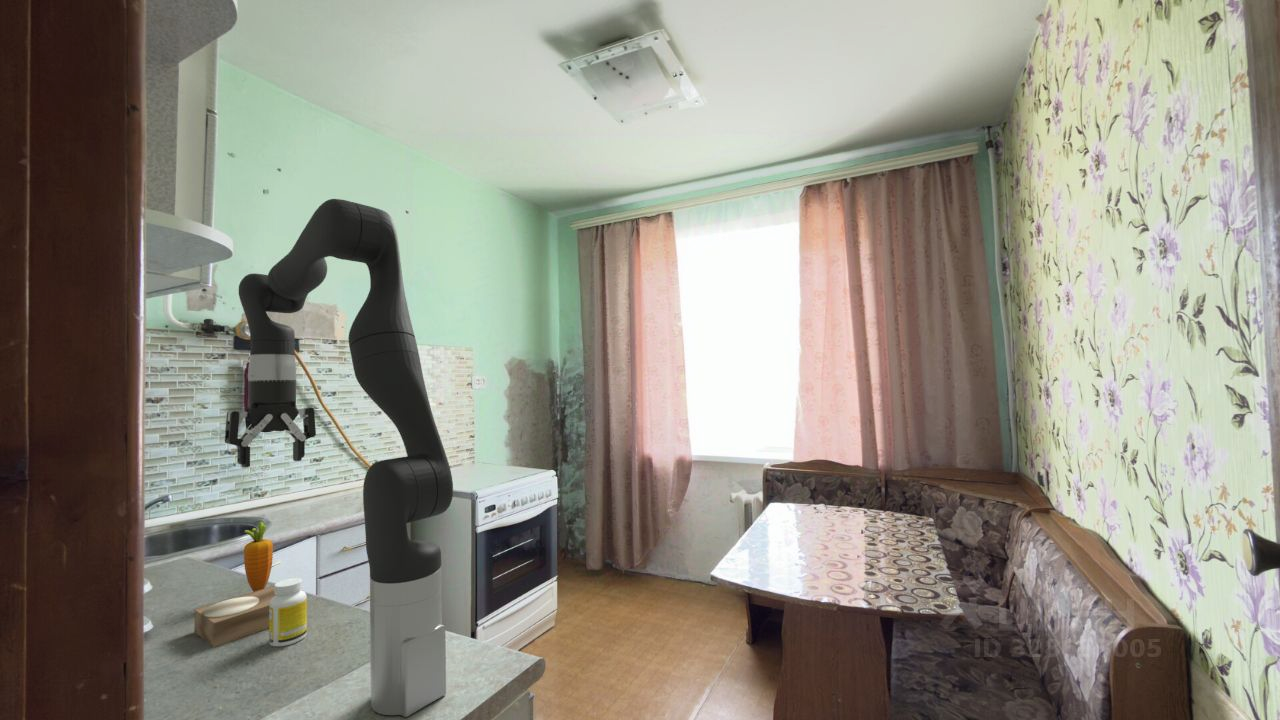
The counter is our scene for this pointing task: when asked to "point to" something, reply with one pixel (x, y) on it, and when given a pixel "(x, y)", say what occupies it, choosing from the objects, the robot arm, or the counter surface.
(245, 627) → the walnut board
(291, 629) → the supplement bottle
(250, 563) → the carrot
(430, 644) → the robot arm
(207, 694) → the counter surface
